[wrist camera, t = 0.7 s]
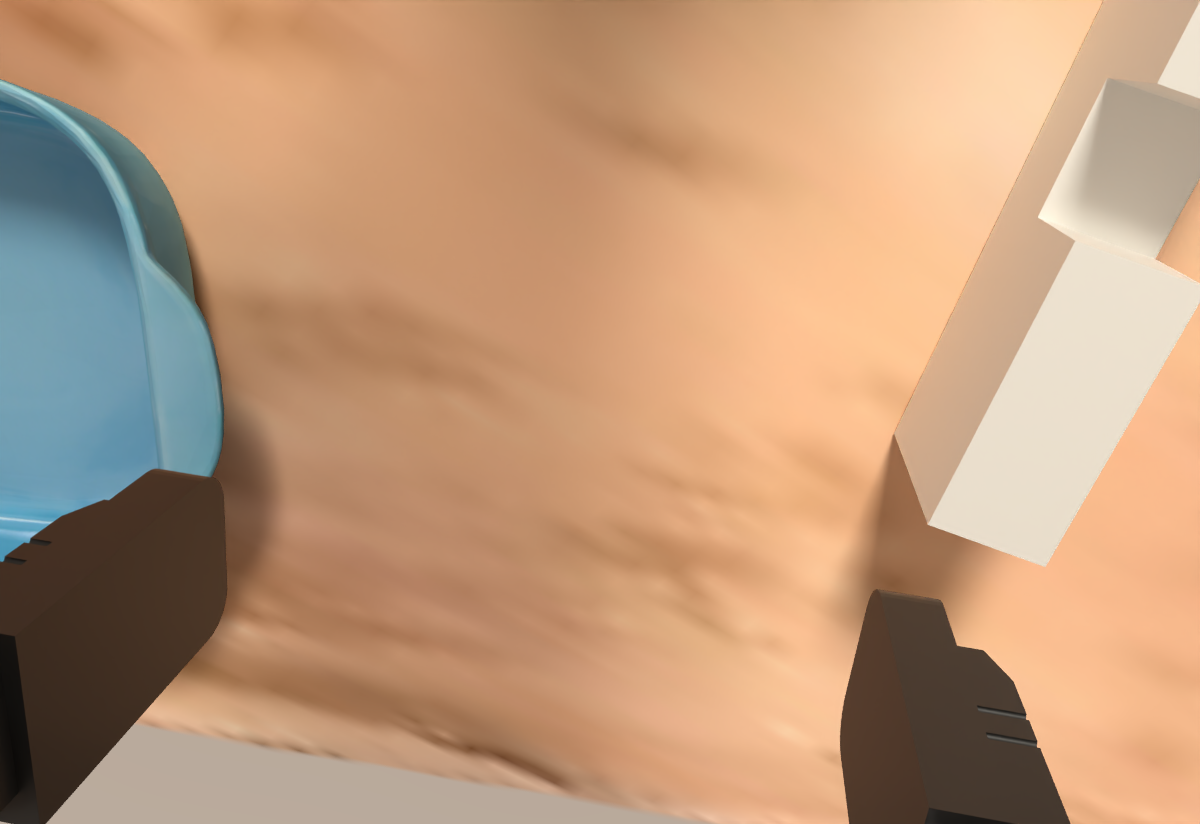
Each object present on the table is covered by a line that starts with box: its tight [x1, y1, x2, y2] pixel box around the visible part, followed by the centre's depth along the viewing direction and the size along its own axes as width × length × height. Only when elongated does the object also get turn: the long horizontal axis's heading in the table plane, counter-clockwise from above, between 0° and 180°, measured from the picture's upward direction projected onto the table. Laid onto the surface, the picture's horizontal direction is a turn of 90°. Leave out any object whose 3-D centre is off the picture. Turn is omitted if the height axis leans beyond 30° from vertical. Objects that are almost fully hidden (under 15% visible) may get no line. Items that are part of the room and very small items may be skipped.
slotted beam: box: [894, 0, 1200, 567], centre depth 31 cm, size 24×4×8 cm, turn 162°
